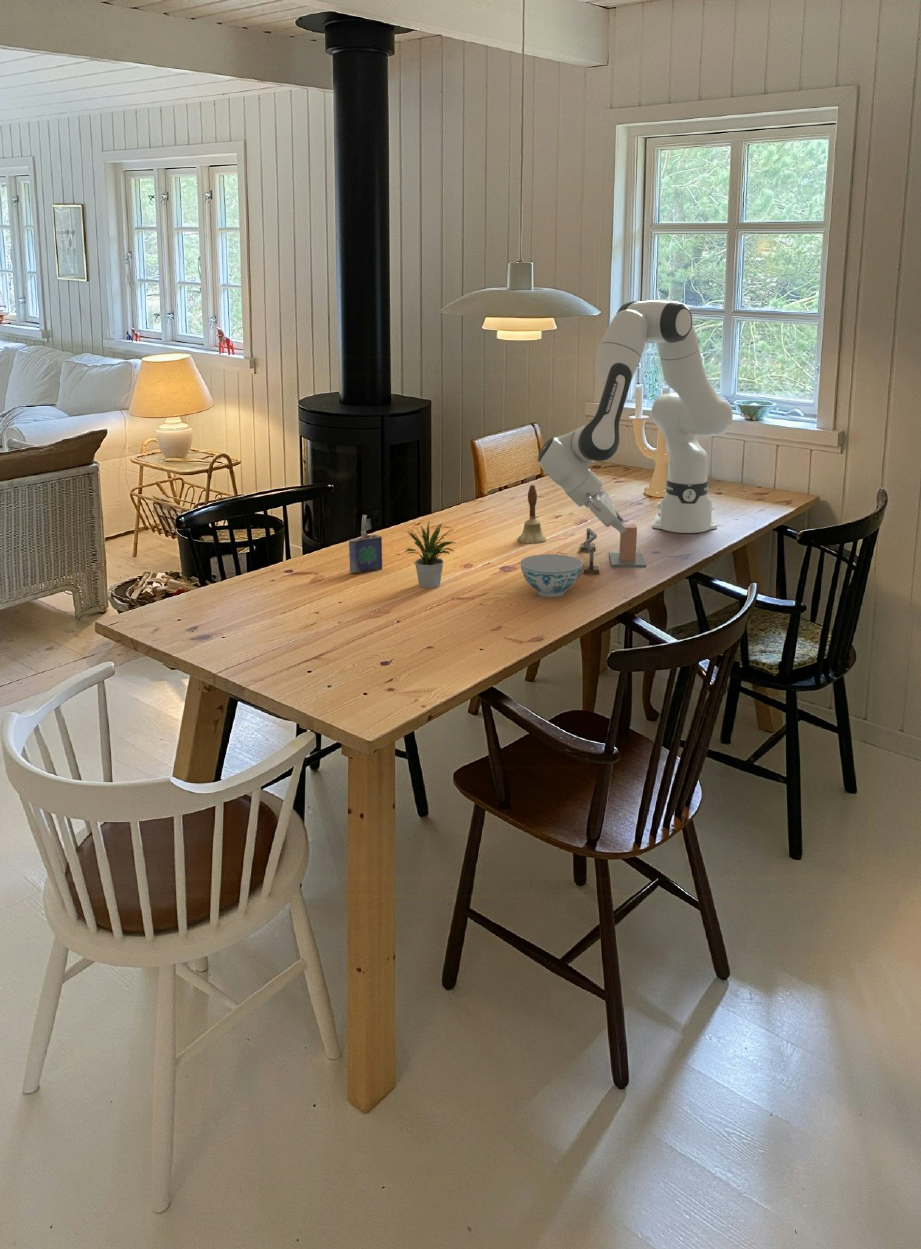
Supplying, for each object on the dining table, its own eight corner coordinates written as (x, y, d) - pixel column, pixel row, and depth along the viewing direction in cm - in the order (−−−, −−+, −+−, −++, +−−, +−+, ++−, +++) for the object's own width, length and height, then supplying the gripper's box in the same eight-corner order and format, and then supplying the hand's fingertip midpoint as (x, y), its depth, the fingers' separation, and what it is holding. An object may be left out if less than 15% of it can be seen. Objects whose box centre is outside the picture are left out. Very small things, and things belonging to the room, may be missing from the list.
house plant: (409, 598, 264) (407, 532, 259) (389, 582, 276) (387, 519, 271) (463, 590, 270) (462, 525, 264) (441, 575, 282) (440, 513, 276)
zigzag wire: (580, 547, 306) (581, 526, 304) (594, 547, 306) (595, 526, 304) (583, 574, 281) (584, 551, 279) (599, 574, 281) (600, 551, 279)
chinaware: (587, 601, 260) (588, 570, 258) (524, 603, 259) (524, 572, 257) (575, 582, 275) (576, 553, 272) (516, 584, 273) (516, 555, 271)
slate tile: (608, 554, 299) (609, 552, 299) (642, 554, 298) (642, 552, 298) (611, 566, 287) (611, 564, 287) (646, 567, 287) (646, 565, 287)
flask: (352, 575, 283) (350, 534, 279) (347, 572, 285) (345, 532, 282) (384, 569, 287) (383, 529, 284) (379, 567, 290) (378, 527, 286)
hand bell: (544, 544, 310) (545, 488, 304) (515, 543, 311) (516, 487, 306) (548, 536, 317) (549, 482, 312) (520, 535, 319) (520, 481, 314)
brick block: (619, 556, 295) (620, 523, 292) (634, 556, 294) (635, 524, 291) (620, 560, 291) (621, 527, 288) (635, 560, 291) (637, 527, 288)
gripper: (597, 490, 277) (634, 528, 279) (593, 474, 296) (628, 509, 298) (579, 507, 278) (616, 545, 281) (576, 490, 298) (611, 525, 300)
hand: (622, 526), depth 290 cm, fingers open, 8 cm apart
